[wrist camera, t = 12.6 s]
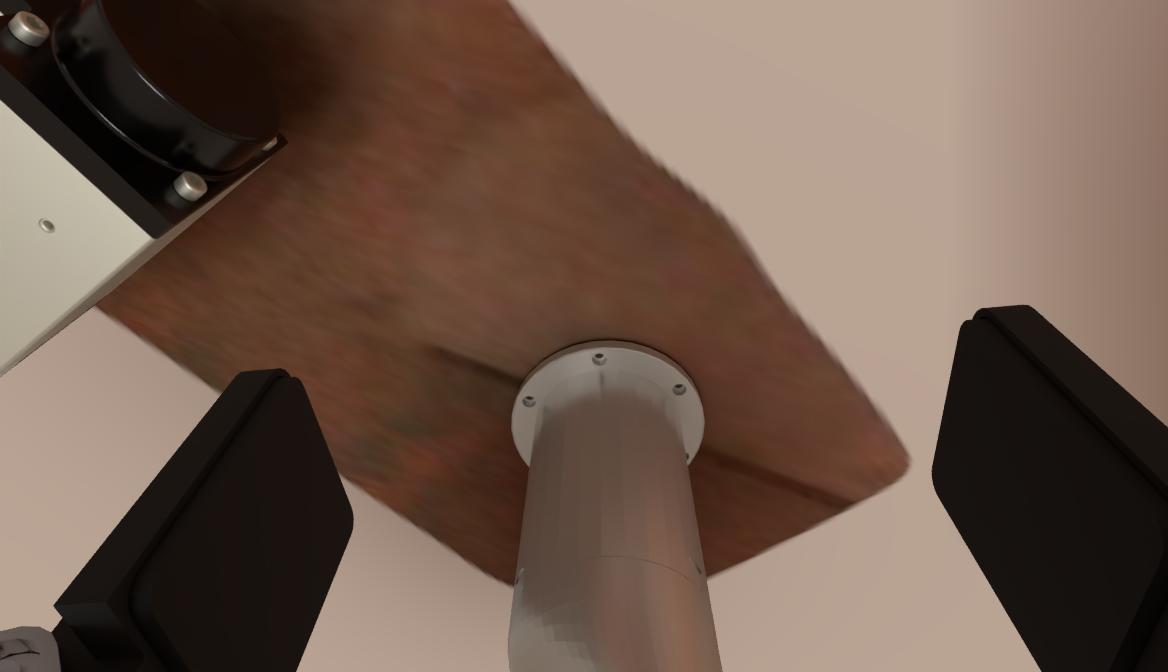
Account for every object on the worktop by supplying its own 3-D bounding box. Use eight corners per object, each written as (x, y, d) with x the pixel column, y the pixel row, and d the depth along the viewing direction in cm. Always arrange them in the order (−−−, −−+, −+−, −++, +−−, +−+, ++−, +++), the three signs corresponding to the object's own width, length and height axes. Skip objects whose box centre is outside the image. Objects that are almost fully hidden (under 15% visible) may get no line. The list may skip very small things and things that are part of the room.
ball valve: (236, -79, 31) (-105, -78, 16) (368, 81, 35) (190, 206, 20) (16, 147, 37) (-393, 306, 22) (148, 265, 40) (-123, 473, 25)
